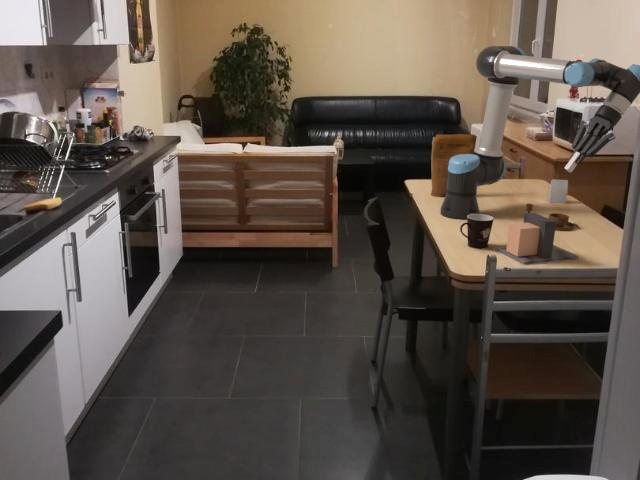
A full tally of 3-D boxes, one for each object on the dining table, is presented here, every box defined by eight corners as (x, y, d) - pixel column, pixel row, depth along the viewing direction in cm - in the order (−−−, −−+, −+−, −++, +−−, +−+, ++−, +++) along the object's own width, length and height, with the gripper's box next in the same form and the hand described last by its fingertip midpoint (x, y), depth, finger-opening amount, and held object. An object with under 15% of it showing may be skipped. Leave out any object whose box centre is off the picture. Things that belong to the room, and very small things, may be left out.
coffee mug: (486, 242, 217) (489, 214, 214) (493, 250, 209) (497, 220, 206) (452, 241, 216) (455, 213, 213) (459, 249, 208) (461, 220, 205)
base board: (523, 264, 195) (524, 261, 195) (497, 250, 208) (498, 248, 207) (578, 258, 201) (578, 255, 201) (549, 245, 214) (549, 243, 214)
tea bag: (565, 203, 273) (568, 181, 270) (549, 202, 274) (552, 180, 271) (564, 201, 276) (567, 179, 273) (548, 200, 277) (551, 178, 274)
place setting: (539, 232, 232) (541, 216, 230) (521, 217, 251) (523, 203, 249) (586, 232, 232) (588, 217, 230) (565, 218, 251) (567, 204, 250)
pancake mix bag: (472, 199, 278) (478, 135, 269) (428, 197, 279) (433, 133, 271) (470, 195, 284) (475, 133, 276) (427, 194, 286) (431, 131, 277)
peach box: (517, 256, 198) (520, 229, 196) (506, 250, 204) (509, 224, 201) (543, 253, 202) (547, 226, 199) (532, 248, 207) (535, 221, 204)
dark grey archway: (540, 257, 199) (545, 222, 195) (520, 247, 208) (524, 213, 205) (551, 256, 200) (556, 221, 196) (530, 246, 209) (534, 212, 206)
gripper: (633, 122, 203) (587, 183, 207) (599, 109, 213) (557, 167, 216) (625, 111, 198) (578, 173, 202) (591, 98, 208) (547, 158, 211)
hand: (567, 170), depth 209 cm, fingers closed
